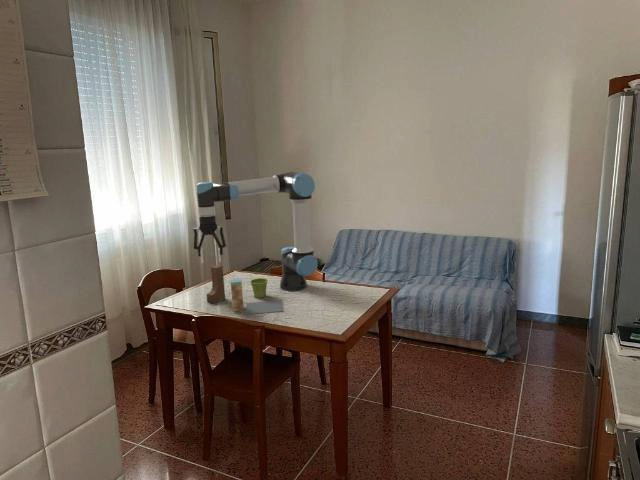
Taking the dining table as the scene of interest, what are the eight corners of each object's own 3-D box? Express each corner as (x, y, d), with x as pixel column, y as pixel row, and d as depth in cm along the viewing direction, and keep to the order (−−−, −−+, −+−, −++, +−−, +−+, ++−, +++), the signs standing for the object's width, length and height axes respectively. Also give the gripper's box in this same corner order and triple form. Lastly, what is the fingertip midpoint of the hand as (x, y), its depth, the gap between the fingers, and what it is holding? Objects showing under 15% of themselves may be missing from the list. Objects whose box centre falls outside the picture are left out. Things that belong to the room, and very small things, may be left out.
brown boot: (212, 303, 242) (209, 270, 238) (206, 302, 244) (203, 269, 240) (225, 298, 249) (222, 265, 245) (219, 297, 251) (216, 264, 248)
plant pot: (264, 299, 245) (263, 283, 243) (248, 298, 247) (247, 282, 246) (271, 294, 253) (270, 278, 252) (255, 292, 256) (254, 277, 254)
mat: (281, 300, 242) (281, 300, 242) (283, 311, 227) (283, 310, 227) (246, 303, 240) (246, 302, 240) (246, 314, 224) (246, 314, 224)
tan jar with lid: (243, 307, 234) (241, 278, 231) (243, 311, 229) (241, 281, 226) (233, 308, 234) (231, 279, 231) (233, 311, 229) (230, 282, 226)
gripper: (229, 212, 225) (233, 258, 230) (186, 215, 222) (190, 261, 227) (228, 215, 218) (232, 262, 223) (183, 217, 215) (188, 265, 220)
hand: (211, 262), depth 225 cm, fingers open, 8 cm apart
